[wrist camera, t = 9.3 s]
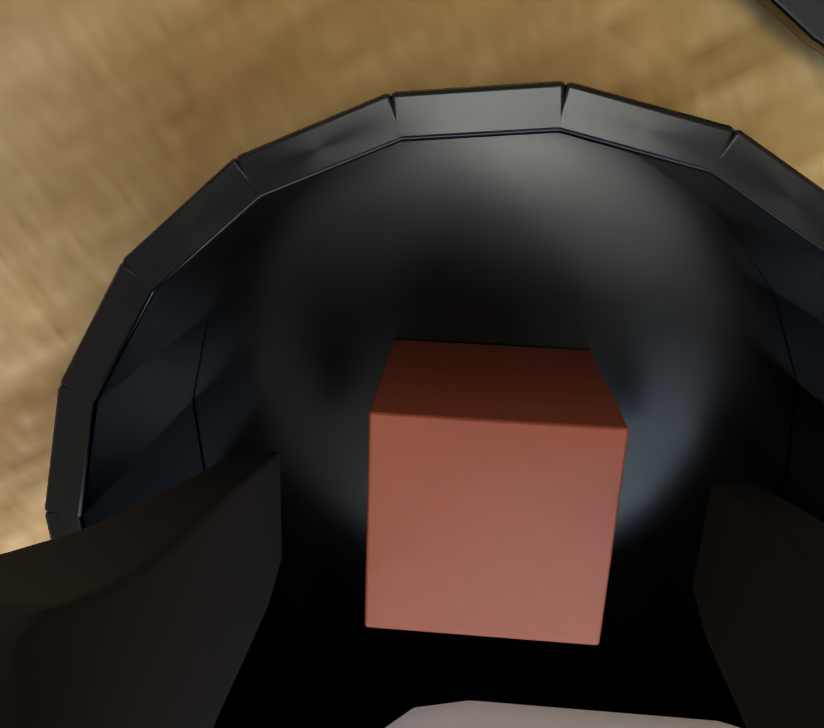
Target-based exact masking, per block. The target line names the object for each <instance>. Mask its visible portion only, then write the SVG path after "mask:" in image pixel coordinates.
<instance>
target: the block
mask: <svg viewBox="0 0 824 728" xmlns="http://www.w3.org/2000/svg"><path fill="white" fill-rule="evenodd" d="M628 434H629V429H628V427H627V425H626V423H625V420H624V418H623V416H622V414H621V412H620V410H619V408H618V406H617V404H616V402H615V400H614V398H613V396H612V394H611V392H610V390H609V388H608V386H607V384H606V381H605V379H604V377H603V375H602V373H601V371H600V369H599V367H598V365H597V363H596V361H595V359H594V357H593V355H592V353H591V351H589V350H571V349H554V348H536V347H519V346H502V345H484V344H467V343H449V342H432V341H415V340H397V339H396V340H394V341H393V343H392V346H391V349H390V352H389V355H388V358H387V361H386V364H385V367H384V370H383V373H382V376H381V379H380V382H379V385H378V388H377V391H376V394H375V397H374V400H373V403H372V406H371V409H370V412H369V433H368V480H367V527H366V574H365V621H364V623H365V626H366V627H372V628H385V629H398V630H410V631H423V632H436V633H448V634H461V635H473V636H486V637H499V638H511V639H524V640H537V641H549V642H562V643H575V644H587V645H598V644H599V642H600V636H601V628H602V621H603V614H604V607H605V600H606V592H607V585H608V578H609V571H610V564H611V556H612V549H613V542H614V535H615V528H616V520H617V513H618V506H619V499H620V492H621V484H622V477H623V470H624V463H625V456H626V448H627V441H628Z"/></svg>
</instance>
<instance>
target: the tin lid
mask: <svg viewBox="0 0 824 728" xmlns="http://www.w3.org/2000/svg"><path fill="white" fill-rule="evenodd" d="M759 1H760V2H761V3H762V5H763V6H764V7H766V8H767V9H768V10H769V11H770V12H771V13H772V14H773V15H774V16H775V17H776V18H777V19H779V20H780V21H781V22H782V23H783V24H784V25H785V26H786V27H787V28H788V29H789V30H791V31H792V32H793V33H794V34H795V35H796V36H797V37H798V38H799V39H800V40H801V41H802V42H804V43H805V44H807V45H808V46H810V47H811V48H813V49H814V50H816V51H817V52H819V53H820V54H822V55H823V56H824V0H759Z"/></svg>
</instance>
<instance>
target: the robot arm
mask: <svg viewBox="0 0 824 728" xmlns="http://www.w3.org/2000/svg"><path fill="white" fill-rule="evenodd" d="M281 558H282V542H281V490H280V452H269V451H254V450H243V451H240V452H238V453H236V454H234V455H232V456H230V457H228V458H226V459H224V460H222V461H220V462H219V463H217V464H215V465H213V466H211V467H210V468H208V469H206V470H204V471H202V472H201V473H199V474H197V475H195V476H193V477H192V478H190V479H188V480H186V481H184V482H183V483H181V484H179V485H177V486H175V487H174V488H172V489H170V490H168V491H166V492H164V493H162V494H160V495H158V496H156V497H154V498H152V499H150V500H148V501H146V502H144V503H142V504H140V505H138V506H136V507H133V508H131V509H129V510H127V511H125V512H123V513H121V514H119V515H116V516H114V517H112V518H109V519H107V520H104V521H102V522H100V523H97V524H94V525H92V526H89V527H86V528H84V529H81V530H79V531H76V532H73V533H70V534H68V535H65V536H62V537H59V538H55V539H52V540H49V541H45V542H42V543H38V544H35V545H32V546H28V547H25V548H21V549H18V550H15V551H11V552H8V553H4V554H0V728H214V725H215V723H216V720H217V718H218V715H219V713H220V711H221V708H222V706H223V704H224V702H225V700H226V697H227V695H228V693H229V691H230V689H231V687H232V684H233V682H234V680H235V678H236V676H237V673H238V671H239V669H240V667H241V665H242V662H243V660H244V658H245V656H246V654H247V652H248V649H249V647H250V645H251V643H252V640H253V638H254V636H255V634H256V632H257V629H258V627H259V625H260V623H261V620H262V618H263V616H264V613H265V611H266V609H267V607H268V603H269V600H270V597H271V594H272V590H273V587H274V584H275V580H276V576H277V573H278V569H279V565H280V562H281ZM693 591H694V594H695V598H696V602H697V606H698V610H699V613H700V617H701V620H702V624H703V627H704V630H705V634H706V637H707V640H708V642H709V645H710V647H711V649H712V652H713V654H714V656H715V659H716V661H717V663H718V665H719V668H720V670H721V672H722V674H723V677H724V679H725V681H726V683H727V685H728V688H729V690H730V692H731V694H732V696H733V699H734V701H735V703H736V705H737V707H738V709H739V712H740V714H741V716H742V718H743V720H744V723H745V725H746V727H747V728H824V523H823V522H822V521H820V520H818V519H816V518H815V517H813V516H811V515H810V514H808V513H806V512H804V511H803V510H801V509H799V508H798V507H796V506H794V505H792V504H791V503H789V502H787V501H785V500H784V499H782V498H780V497H778V496H776V495H775V494H773V493H771V492H769V491H767V490H765V489H763V488H761V487H759V486H756V485H754V484H751V483H741V482H726V481H712V483H711V489H710V494H709V500H708V505H707V511H706V516H705V522H704V527H703V533H702V538H701V544H700V549H699V555H698V560H697V566H696V572H695V577H694V583H693ZM385 728H739V727H736V726H733V725H729V724H726V723H723V722H720V721H713V720H701V719H689V718H677V717H665V716H653V715H640V714H628V713H616V712H604V711H592V710H580V709H568V708H556V707H544V706H532V705H520V704H508V703H496V702H484V701H471V700H469V701H461V702H453V703H446V704H438V705H430V706H423V707H415V708H413V709H411V710H410V711H408V712H407V713H405V714H404V715H402V716H401V717H400V718H398V719H397V720H395V721H394V722H392V723H391V724H390V725H388V726H387V727H385Z"/></svg>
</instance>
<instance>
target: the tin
mask: <svg viewBox="0 0 824 728" xmlns="http://www.w3.org/2000/svg"><path fill="white" fill-rule="evenodd" d="M396 339H397V340H415V341H432V342H449V343H467V344H484V345H502V346H519V347H536V348H554V349H571V350H589V351H591V353H592V355H593V357H594V359H595V361H596V363H597V365H598V367H599V369H600V371H601V373H602V375H603V377H604V379H605V381H606V384H607V386H608V388H609V390H610V392H611V394H612V396H613V398H614V400H615V402H616V404H617V406H618V408H619V410H620V412H621V414H622V416H623V418H624V420H625V423H626V425H627V427H628V429H629V434H628V441H627V448H626V456H625V463H624V470H623V477H622V484H621V492H620V499H619V506H618V513H617V520H616V528H615V535H614V542H613V549H612V556H611V564H610V571H609V578H608V585H607V592H606V600H605V607H604V614H603V621H602V628H601V636H600V642H599V644H598V645H587V644H575V643H562V642H549V641H537V640H524V639H511V638H499V637H486V636H473V635H461V634H448V633H436V632H423V631H410V630H398V629H385V628H372V627H366V626H365V623H364V621H365V574H366V527H367V480H368V433H369V412H370V409H371V406H372V403H373V400H374V397H375V394H376V391H377V388H378V385H379V382H380V379H381V376H382V373H383V370H384V367H385V364H386V361H387V358H388V355H389V352H390V349H391V346H392V343H393V341H394V340H396ZM243 450H254V451H269V452H280V490H281V542H282V558H281V562H280V565H279V569H278V573H277V576H276V580H275V584H274V587H273V590H272V594H271V597H270V600H269V603H268V607H267V609H266V611H265V613H264V616H263V618H262V620H261V623H260V625H259V627H258V629H257V632H256V634H255V636H254V638H253V640H252V643H251V645H250V647H249V649H248V652H247V654H246V656H245V658H244V660H243V662H242V665H241V667H240V669H239V671H238V673H237V676H236V678H235V680H234V682H233V684H232V687H231V689H230V691H229V693H228V695H227V697H226V700H225V702H224V704H223V706H222V708H221V711H220V713H219V715H218V718H217V720H216V723H215V725H214V728H385V727H387V726H388V725H390V724H391V723H392V722H394V721H395V720H397V719H398V718H400V717H401V716H402V715H404V714H405V713H407V712H408V711H410V710H411V709H413V708H415V707H423V706H430V705H438V704H446V703H453V702H461V701H469V700H471V701H484V702H496V703H508V704H520V705H532V706H544V707H556V708H568V709H580V710H592V711H604V712H616V713H628V714H640V715H653V716H665V717H677V718H689V719H701V720H713V721H720V722H723V723H726V724H729V725H733V726H736V727H739V728H747V727H746V725H745V723H744V720H743V718H742V716H741V714H740V712H739V709H738V707H737V705H736V703H735V701H734V699H733V696H732V694H731V692H730V690H729V688H728V685H727V683H726V681H725V679H724V677H723V674H722V672H721V670H720V668H719V665H718V663H717V661H716V659H715V656H714V654H713V652H712V649H711V647H710V645H709V642H708V640H707V637H706V634H705V630H704V627H703V624H702V620H701V617H700V613H699V610H698V606H697V602H696V598H695V594H694V591H693V583H694V577H695V572H696V566H697V560H698V555H699V549H700V544H701V538H702V533H703V527H704V522H705V516H706V511H707V505H708V500H709V494H710V489H711V483H712V481H726V482H741V483H751V484H754V485H756V486H759V487H761V488H763V489H765V490H767V491H769V492H771V493H773V494H775V495H776V496H778V497H780V498H782V499H784V500H785V501H787V502H789V503H791V504H792V505H794V506H796V507H798V508H799V509H801V510H803V511H804V512H806V513H808V514H810V515H811V516H813V517H815V518H816V519H818V520H820V521H822V522H823V523H824V190H823V189H822V188H820V187H819V186H818V185H816V184H815V183H813V182H812V181H811V180H809V179H808V178H806V177H805V176H804V175H802V174H801V173H799V172H798V171H797V170H795V169H794V168H792V167H791V166H790V165H788V164H787V163H785V162H784V161H783V160H781V159H780V158H778V157H777V156H776V155H774V154H773V153H771V152H770V151H769V150H767V149H766V148H764V147H763V146H762V145H760V144H759V143H757V142H756V141H754V140H753V139H752V138H750V137H749V136H747V135H746V134H745V133H743V132H742V131H740V130H734V129H733V128H732V127H731V126H728V125H724V124H721V123H717V122H713V121H710V120H706V119H703V118H699V117H695V116H692V115H688V114H684V113H681V112H677V111H674V110H670V109H666V108H663V107H659V106H656V105H652V104H648V103H645V102H641V101H638V100H634V99H630V98H627V97H623V96H620V95H616V94H612V93H609V92H605V91H601V90H598V89H594V88H591V87H587V86H583V85H580V84H576V83H573V82H571V83H564V82H561V81H553V82H538V83H522V84H506V85H491V86H475V87H460V88H444V89H429V90H413V91H397V92H394V93H392V94H384V95H381V96H379V97H376V98H374V99H372V100H369V101H367V102H364V103H362V104H360V105H357V106H355V107H353V108H350V109H348V110H345V111H343V112H341V113H338V114H336V115H333V116H331V117H329V118H326V119H324V120H322V121H319V122H317V123H314V124H312V125H310V126H307V127H305V128H303V129H300V130H298V131H295V132H293V133H291V134H288V135H286V136H283V137H281V138H279V139H276V140H274V141H272V142H269V143H267V144H264V145H262V146H260V147H257V148H255V149H253V150H250V151H248V152H245V153H243V154H241V155H239V156H238V157H237V158H236V159H232V160H231V161H230V162H229V163H228V164H226V165H225V166H224V167H223V168H222V169H221V170H220V171H219V172H218V173H217V174H216V175H214V176H213V177H212V178H211V179H210V180H209V181H208V182H207V183H206V184H205V185H204V186H202V187H201V188H200V189H199V190H198V191H197V192H196V193H195V194H194V195H193V196H192V197H190V198H189V199H188V200H187V201H186V202H185V203H184V204H183V205H182V206H181V207H180V208H178V209H177V210H176V211H175V212H174V213H173V214H172V215H171V216H170V217H169V218H168V219H166V220H165V221H164V222H163V223H162V224H161V225H160V226H159V227H158V228H157V229H156V230H154V231H153V232H152V233H151V234H150V235H149V236H148V237H147V238H146V239H145V240H144V241H142V242H141V243H140V244H139V245H138V246H137V247H136V248H135V249H134V250H133V251H132V252H130V253H129V254H128V255H127V256H126V257H125V258H124V260H123V263H122V264H120V266H119V268H118V270H117V272H116V274H115V276H114V278H113V280H112V282H111V283H110V285H109V287H108V289H107V291H106V293H105V295H104V297H103V299H102V301H101V303H100V305H99V307H98V309H97V311H96V313H95V315H94V317H93V319H92V321H91V323H90V325H89V326H88V328H87V330H86V332H85V334H84V336H83V338H82V340H81V342H80V344H79V346H78V348H77V350H76V352H75V354H74V356H73V358H72V360H71V362H70V364H69V366H68V368H67V370H66V371H65V373H64V375H63V377H62V379H61V386H60V387H59V390H58V398H57V407H56V416H55V425H54V434H53V442H52V451H51V460H50V469H49V477H48V486H47V495H46V504H45V510H46V511H47V512H46V520H47V525H48V529H49V533H50V537H51V540H52V539H55V538H59V537H62V536H65V535H68V534H70V533H73V532H76V531H79V530H81V529H84V528H86V527H89V526H92V525H94V524H97V523H100V522H102V521H104V520H107V519H109V518H112V517H114V516H116V515H119V514H121V513H123V512H125V511H127V510H129V509H131V508H133V507H136V506H138V505H140V504H142V503H144V502H146V501H148V500H150V499H152V498H154V497H156V496H158V495H160V494H162V493H164V492H166V491H168V490H170V489H172V488H174V487H175V486H177V485H179V484H181V483H183V482H184V481H186V480H188V479H190V478H192V477H193V476H195V475H197V474H199V473H201V472H202V471H204V470H206V469H208V468H210V467H211V466H213V465H215V464H217V463H219V462H220V461H222V460H224V459H226V458H228V457H230V456H232V455H234V454H236V453H238V452H240V451H243Z"/></svg>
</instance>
